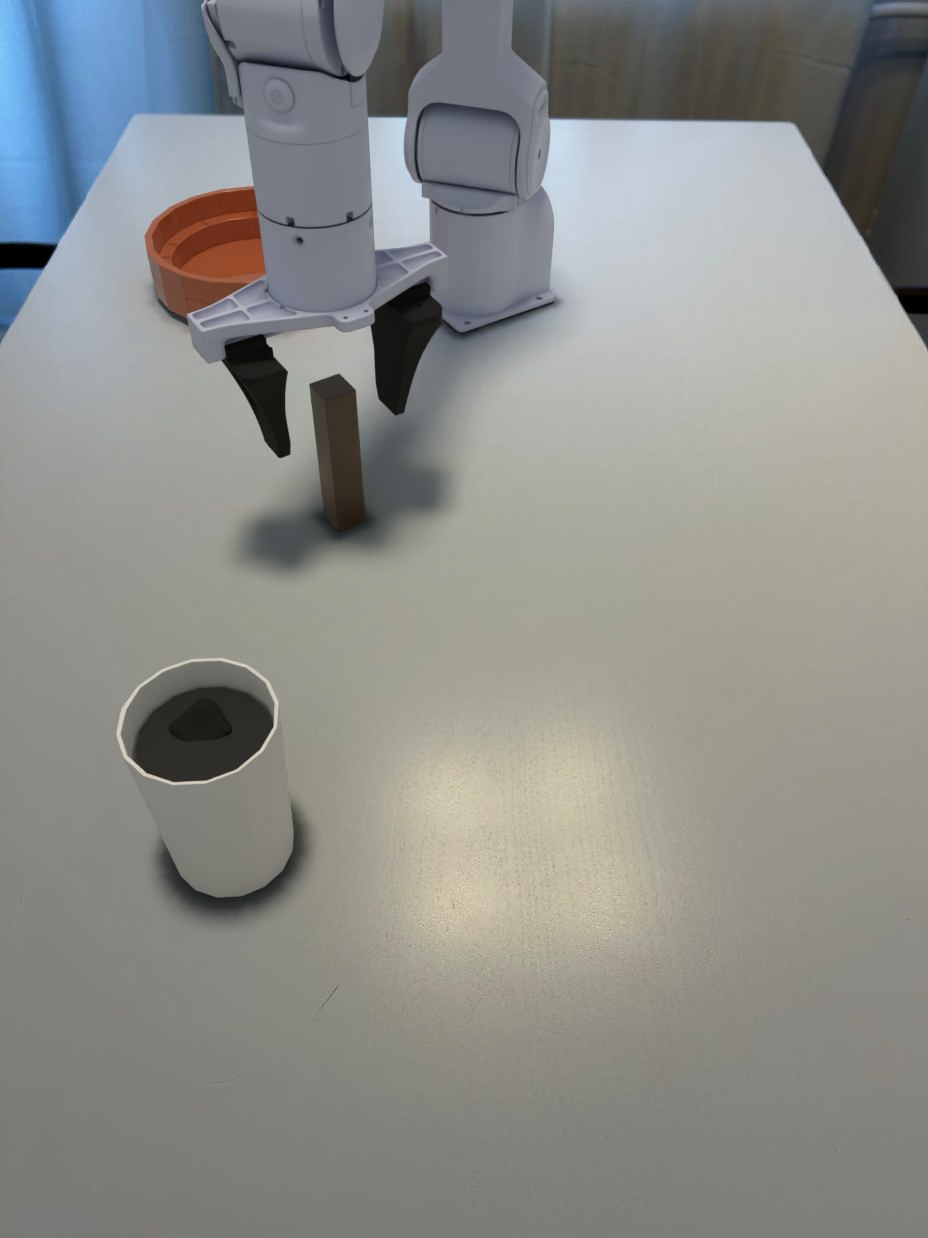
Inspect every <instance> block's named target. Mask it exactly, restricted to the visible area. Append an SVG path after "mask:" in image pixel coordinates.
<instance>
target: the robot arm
mask: <svg viewBox="0 0 928 1238" xmlns="http://www.w3.org/2000/svg"><path fill="white" fill-rule="evenodd" d="M200 7H201V8H200V9H201V14H202V19H203V23H204V28H205V30H206V31H205V32H206V35H207V37H208V39H209V42H210V44H211V46H212V47H213V50H214V51H215V53H216V54H217V56H218V57H219V59H220V61H221V63H222V65H223V68H224V72H225V77H226V84H227V90H228V96H229V97H230V98H232V102H233V104H234V105H236V106H237V107H239V108H241V109H243V116H244V117H243V118H244V123H245V124H244V125H245V132H246V138H247V147H248V152H249V160H250V169H251V175H252V182H253V186H254V190H255V197H256V203H257V210H258V218H259V225H260V233H261V241H262V248H263V255H264V263H265V270H266V275H264V276H262V277H261V278H259V279H257V280H255V281H254V282H252V283H250V284H248V285H246V286H245V287H243V288H241V289H239V290H238V291H236V292H234V293H232V294H230V295H229V296H227V297H225V298H223V299H222V300H220V301H218V302H216V303H214V304H212V305H210V306H208V307H205V308H203V309H200V310H197V311H194V312H191V313H188V314H187V319H186V320H187V325H188V329H189V334H190V338H191V344H192V347H193V348H194V350H195V351H196V352H197V353H198V355H199V356H200V357H201V358H202V359H203V360H204V361H205V363H206V364H208V365H210V364H214V363H216V362H220V361H221V362H222V364H223V366H225V368H226V369H227V371H228V372H229V373H230V375H231V377H233V379H234V381H235V382H236V384H237V386H238V387H239V389H240V391H241V392H242V393H243V396H244V397H245V399H246V401H247V402H248V405H249V406H250V408H251V410H252V412H253V414H254V417H255V419H256V422H257V424H258V426H259V429H260V432H261V434H262V438H263V441H264V444H266V445H267V446H268V447H269V449H270V450H271V451H272V452H273V453H274V455H275V456H276V457H277V458H279V459H283V458H286V457H288V456H291V451H292V450H291V449H292V448H291V447H292V445H291V443H292V442H291V437H290V431H289V425H288V420H287V413H286V411H287V410H286V409H287V408H286V394H287V393H286V391H287V381H288V374H289V371H288V370H287V369H286V367H284V365H282V364H281V362H280V361H279V360H278V359H277V358H276V357H275V355H274V349H273V346H270V345H269V344H268V343H267V339H268V338H271V337H274V336H278V335H281V334H284V333H286V332H295V331H304V330H313V329H320V328H321V329H322V328H329V327H334V328H335V329H336V330H337V331H339V332H341V333H344V334H345V333H352V332H356V331H358V330H361V329H364V328H367V327H370V332H371V337H372V338H371V339H372V344H373V359H374V379H375V388H376V393H377V397H378V400H379V401H380V402H381V403H382V404H383V405H384V407H386V409H388V410H389V411H390V412H391V413H392V414H393V415H394V416H395V417H396V416H399V415H402V414H404V413H405V411H406V407H407V403H408V399H409V396H410V392H411V387H412V384H413V381H414V377H415V374H416V373H417V372H416V371H417V369H418V366H419V363H420V361H421V358H422V357H423V354H424V353H425V350H426V348H427V347H428V345H429V344H430V342H431V340H432V338H433V337H434V336H435V334H436V333H437V331H438V330H439V329H440V327H441V326H442V324H443V321H445V322H446V323H447V324H448V325H449V326H451V327H452V328H453V329H454V330H455V331H456V332H458V333H467V332H468V331H471V330H474V329H478V328H480V327H483V326H486V325H489V324H492V323H494V322H498V321H500V320H503V319H506V318H509V317H512V316H515V315H518V314H521V313H523V312H526V311H527V312H528V311H529V310H532V309H536V308H538V307H540V306H544V305H546V304H550V303H552V302H554V301H555V298H556V295H555V293H554V292H552V291H551V290H550V285H551V274H552V272H551V271H552V261H553V260H552V259H553V246H554V237H555V217H554V211H553V205H552V203H551V199H550V196H549V195H548V193H547V191H546V189H545V188H544V187H543V186H542V184H543V182H544V178H545V174H546V169H547V165H548V160H549V154H550V146H551V145H550V144H551V121H550V117H549V91H548V89H547V88H548V83H547V81H546V80H545V79H544V78H543V77H542V75H540V74H539V73H538V72H537V71H536V70H534V69H533V68H532V67H531V66H530V65H528V64H527V62H525V61H524V60H523V59H522V58H521V57H520V56H519V55H518V54H517V53H516V52H515V51H514V50H513V48H512V39H513V37H512V36H513V18H514V17H513V15H514V0H441V53H440V54H438V55H436V56H435V57H434V58H432V59H431V60H429V61H428V62H427V63H425V64H424V65H423V66H422V67H421V68H420V69H419V70H418V72H417V73H416V75H415V76H414V78H413V80H412V83H411V84H410V87H409V90H408V94H407V95H408V96H407V115H406V116H407V117H406V121H405V126H404V133H403V158H404V164H405V168H406V169H407V170H406V171H407V172H408V173H409V175H410V178H411V180H412V181H413V182H414V183H416V184H421V197H422V198H424V199H428V203H429V204H428V205H429V206H428V208H429V211H428V212H429V213H428V215H429V217H428V218H429V241H426V242H422V243H419V244H414V245H409V246H402V247H394V248H393V247H392V248H383V249H382V248H381V249H376V244H375V226H374V225H375V224H374V207H373V206H374V204H373V188H372V169H371V149H370V131H369V112H368V111H369V110H368V109H369V108H368V92H367V74H366V73H367V71H368V70H369V68H370V66H371V64H372V62H373V60H374V57H375V55H376V53H377V51H378V50H379V46H380V41H381V36H382V29H383V23H384V22H383V21H384V13H385V0H203V2H202V4H201V6H200Z"/></svg>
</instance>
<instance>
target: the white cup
mask: <svg viewBox="0 0 928 1238" xmlns="http://www.w3.org/2000/svg"><path fill="white" fill-rule="evenodd" d="M134 689H135V690H134V691H133V692H132V694H131V695H130V696H129V698H128V699H127V701H126V702H125V703H124V704H123V705H122V707H121V709H120V714H119V717H118V723H117V728H116V733H115V735H116V738H117V741H118V744H119V747H120V750H121V754H122V757H123V759H124V761H125V763H126V765H127V768H128V769H129V771H130V773H131V776H132V778H133V780H134V782H135V785H136V786H137V788H138V791H139V792H140V795H141V797H142V799H143V801H144V803H145V805H146V808H147V809H148V811H149V813H150V816H151V817H152V820H153V821H154V823H155V826H156V828H157V830H158V832H159V834H160V836H161V838H162V840H163V842H164V845H165V846H166V848H167V851H168V853H169V854H170V857H171V859H172V862H173V863H174V865H175V867H176V869H177V871H178V873H179V875H180V877H181V878H182V879H183V880H184V881H185V882H186V883H187V884H188V885H189V886H190V887H191V888H192V889H194V890H195V891H196V892H199V893H202V894H205V895H208V896H211V897H214V898H234V897H235V898H236V897H244V896H246V895H248V894H251V893H253V892H255V891H258V890H260V889H264V888H265V887H266V886H267V885H269V884H270V883H271V882H272V881H273V880H274V879H275V878H276V877H278V875H280V874H281V873H282V872H283V871H284V869H285V868H286V865H287V863H288V861H289V860H290V857H291V855H292V853H293V851H294V837H295V836H294V835H295V830H294V829H295V828H294V822H293V813H292V803H291V796H290V788H289V779H288V769H287V761H286V752H285V746H284V745H285V744H284V735H283V727H282V717H281V709H280V702H279V700H278V697H277V696H276V694H275V691H274V689H273V687H272V684H271V683H270V681H269V680H268V679H267V678H266V677H264V676H263V675H262V674H260V672H258V671H257V670H256V669H254V668H253V667H252V666H250V665H249V664H246V663H242V662H238V661H234V660H231V659H228V658H224V657H212V658H211V657H210V658H190V659H187V660H185V661H181V662H178V663H176V664H173V665H170V666H166V667H164V668H162V669H160V670H159V671H157V672H156V673H154V674H153V675H152V676H150V677H148V678H147V679H145V680H144V681H143V682H142V683H140V684H138V685H137V686H136V688H134Z"/></svg>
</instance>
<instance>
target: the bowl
mask: <svg viewBox="0 0 928 1238" xmlns="http://www.w3.org/2000/svg"><path fill="white" fill-rule="evenodd" d="M144 242H145V250H146V255H147V259H148V264H149V268H150V272H151V277H152V278H151V279H152V281H153V287H154V290H155V294H156V296H157V297H158V299H159V300H160V301H161V302H162V303H163V304H164V306H165V307H166V308H167V310H170V311H171V312H173V313H175V314H177V315H179V316H180V317H183V319H186V320H188V319H187V314H188V313H191V312H194V311H197V310H200V309H203V308H205V307H208V306H210V305H212V304H214V303H216V302H218V301H220V300H222V299H223V298H225V297H227V296H229V295H230V294H232V293H234V292H236V291H238V290H239V289H241V288H243V287H245V286H246V285H248V284H250V283H252V282H254V281H255V280H257V279H259V278H261V277H262V276H264V275H266V270H265V263H264V255H263V248H262V241H261V233H260V225H259V218H258V210H257V203H256V197H255V190H254V185H249V186H248V185H247V186H239V187H238V186H237V187H230V188H221V189H217V190H214V191H213V190H212V191H209V192H205V193H201V194H197V195H193V196H191V197H188V198H186V199H184V200H181V201H179V202H177V203H174V204H173V205H171V206H169V207H168V208H166V209H165V210H164V211H163V212H161V213H160V214H159V215H157V216H156V217H155V218H154V219H152V220H151V222H150V225H149V226H148V228H147V230H146V232H145V234H144Z"/></svg>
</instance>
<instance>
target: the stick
mask: <svg viewBox="0 0 928 1238" xmlns="http://www.w3.org/2000/svg"><path fill="white" fill-rule="evenodd" d="M308 386H309V394H310V403H311V404H310V405H311V412H312V413H311V414H312V420H313V428H314V437H315V447H316V456H317V465H318V473H319V481H320V490H321V499H322V505H323V506H322V509H323V515H324V516H325V517H326V519H327V520H328V521H329V522H330V523H331V525H332V526H333V527H334V528H335V529H336V531H337V532H339V533H340V532H342V531H345V530H347V529H350V528H352V527H354V526H357V525H359V524H362V523H365V522H366V520H367V518H366V517H367V516H366V505H365V490H364V478H363V465H362V453H361V439H360V426H359V414H358V413H359V411H358V401H357V399H358V398H357V390H356V388H354V386H353V385H352V384H350V382H348V380H346V378H345V377H344V376H343V375H342V374H340V373H336V374H334V375H330V376H328V377H325V378H322V379H319V380H316V381H313V382H310V383H309V384H308Z"/></svg>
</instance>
